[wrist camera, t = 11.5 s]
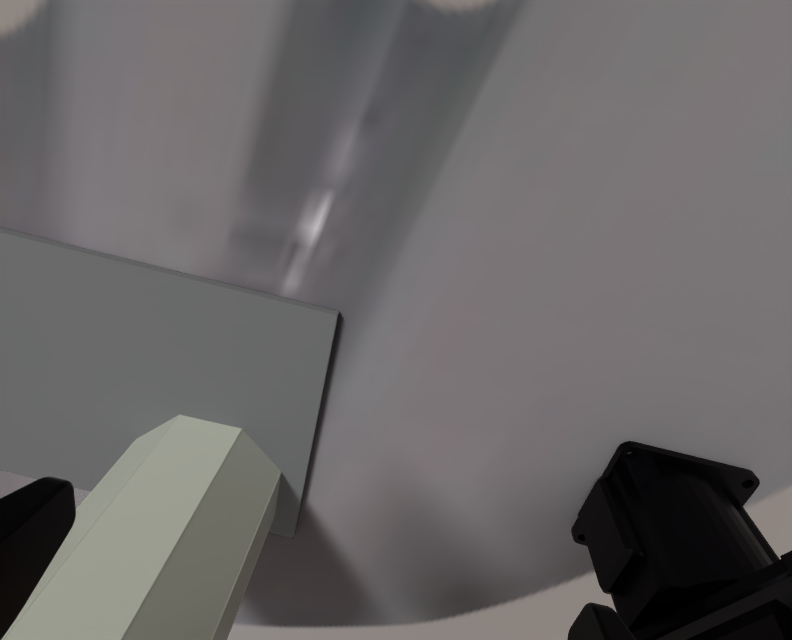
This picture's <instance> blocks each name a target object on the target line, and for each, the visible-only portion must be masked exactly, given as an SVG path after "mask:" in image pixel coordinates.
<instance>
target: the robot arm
mask: <svg viewBox="0 0 792 640" xmlns="http://www.w3.org/2000/svg"><path fill="white" fill-rule="evenodd" d="M631 451H632V452H633V453H631V454H627V453H628V452H631ZM759 484H760V482H759V479H758V478H757V477H756V475H755V474H754V473H753V472H752V471H750V470H748V469H744V468H739V467H735V466H731V465H727V464H723V463H719V462H715V461H711V460H707V459H703V458H698V457H694V456H690V455H686V454H682V453H678V452H674V451H670V450H666V449H662V448H657V447H653V446H649V445H645V444H641V443H637V442H632V441H628V442H624V443H622V444H621V445H620V446H619V447H618V448H617V450H616V452H615V454H614V455H613V457H612V459H611V461H610V462H609V464H608V466H607V468H606V469H605V471H604V473H603V475H602V476H601V478H599V479H598V480H597V482H596V483H595V485H594V487H593V489H592V490H591V492H590V494H589V496H588V498H587V499H586V501H585V503H584V505H583V506H582V508H581V510H580V512H579V513H578V519H577V520H576V522H575V524H574V526H573V527H572V530H571V532H572V536H573V539H574V541H575V542H576V543H579V544H582V545H586V546H588V549H589V553H590V556H591V559H592V562H593V566H594V569H595V572H596V575H597V579H598V582H599V585H600V587H601V589H602V590H603V592H604V593H607V594H611V596H612V599H613V602H614V605H615V608H616V611H617V613H616V612H615V611H614V610H613V609H612V608H610V607H608V606H604V605H599V604H595V603H588V604H586V605H585V606H584V608H583V609H582V611H581V612H580V614H579V615H578V617H577V618H576V620H575V621H574V623H573V625H572V626H571V628H570V630H569V633H568V640H792V551H790V552H788V553H786V554H784V555H782V556H781V560H780V559H779V558H778V556H777V555H776V554H775V552H774V551H773V549H772V548H771V546H770V545H769V544H768V542H767V541H766V539H765V538H764V537H763V535H762V534H761V532H760V531H759V529H758V528H757V526H756V525H755V524H754V522H753V521H752V520H751V518H750V517H749V515H748V514H747V512H746V511H745V509H744V508H743V505H744V504H745V503H746V502H747V500H748V499H749V498H750V496H751V495H752V494H753V493H754V491H755V490H756V489H757V487H758V486H759ZM75 518H76V508H75V497H74V487H73V484H72V483H71V482H70V481H68V480H64V479H60V478H55V477H43V478H40V479H38V480H36V481H34V482H32V483H30V484H28V485H26V486H24V487H22V488H20V489H18V490H16V491H14V492H13V493H11V494H9V495H7V496H5V497H3V498H1V499H0V640H1V639H2V638H3V636H4V635H5V634H6V632H7V631H8V629H9V628H10V627H11V625H12V624H13V622H14V621H15V620H16V618H17V616H18V615H19V613H20V612H21V610H22V609H23V607H24V606H25V604H26V602H27V601H28V599H29V597H30V596H31V594H32V592H33V591H34V589H35V588H36V586H37V584H38V583H39V581H40V579H41V578H42V576H43V574H44V573H45V571H46V570H47V568H48V566H49V565H50V563H51V561H52V560H53V558H54V556H55V555H56V553H57V551H58V550H59V548H60V547H61V545H62V543H63V542H64V540H65V538H66V537H67V535H68V533H69V532H70V530H71V528H72V526H73V524H74V521H75Z"/></svg>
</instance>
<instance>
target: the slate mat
mask: <svg viewBox="0 0 792 640" xmlns="http://www.w3.org/2000/svg"><path fill="white" fill-rule="evenodd" d="M338 315H339V311H335V310H331V309H327V308H323V307H319V306H315V305H311V304H307V303H303V302H299V301H295V300H291V299H287V298H283V297H279V296H275V295H270V294H266V293H262V292H258V291H254V290H250V289H246V288H242V287H238V286H234V285H230V284H226V283H222V282H218V281H214V280H210V279H206V278H202V277H198V276H193V275H189V274H185V273H181V272H177V271H173V270H169V269H165V268H161V267H157V266H153V265H149V264H145V263H141V262H137V261H133V260H129V259H125V258H121V257H116V256H112V255H108V254H104V253H100V252H96V251H92V250H88V249H84V248H80V247H76V246H72V245H68V244H64V243H60V242H56V241H52V240H48V239H44V238H40V237H35V236H31V235H27V234H23V233H19V232H15V231H11V230H7V229H3V228H0V470H2V471H6V472H11V473H15V474H19V475H23V476H28V477H32V478H36V479H40V478H43V477H55V478H60V479H64V480H68V481H70V482H71V483H72V484H73V487H75V488H79V489H83V490H87V491H92V490H93V489H94V488H95V487H96V486H97V484H98V483H99V482H100V481H101V480H102V479H103V477H104V476H105V475H106V474H107V473H108V471H109V470H110V469H111V468H112V467H113V466H114V464H115V463H116V462H117V461H118V460H119V459H120V457H121V456H122V455H123V454H124V453H125V452H126V450H127V449H128V448H129V447H130V446H131V444H132V443H133V442H134V441H135V440H136V439H137V438H139V437H141V436H143V435H144V434H146V433H148V432H150V431H151V430H153V429H155V428H157V427H158V426H160V425H162V424H164V423H165V422H167V421H169V420H171V419H173V418H174V417H176V416H178V415H183V416H188V417H192V418H197V419H201V420H206V421H210V422H215V423H219V424H223V425H228V426H232V427H237V428H242V429H243V430H244V432H245V433H246V434H247V435H248V436H249V437H250V438H251V439H252V440H253V441H254V442H255V443H256V445H257V446H258V447H259V448H260V449H261V450H262V451H263V452H264V453H265V454H266V455H267V457H268V458H269V459H270V460H271V461H272V462H273V463H274V464H275V465H276V466H277V467H278V468H279V470H280V471H281V476H280V483H279V490H278V497H277V505H276V512H275V516H274V519H273V521H272V524H271V526H270V529H269V532H268V533H271V534H275V535H279V536H284V537H288V538H292V539H293V538H294V535H295V531H296V526H297V521H298V516H299V511H300V506H301V501H302V496H303V491H304V486H305V481H306V476H307V471H308V466H309V461H310V456H311V451H312V446H313V441H314V436H315V431H316V426H317V421H318V416H319V411H320V406H321V401H322V396H323V391H324V386H325V381H326V376H327V371H328V366H329V361H330V356H331V351H332V345H333V340H334V335H335V330H336V325H337V320H338Z"/></svg>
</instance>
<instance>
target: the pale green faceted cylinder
mask: <svg viewBox="0 0 792 640" xmlns="http://www.w3.org/2000/svg"><path fill="white" fill-rule="evenodd" d="M280 476H281V471H280V470H279V468H278V467H277V466H276V465H275V464H274V463H273V462H272V461H271V460H270V459H269V458H268V457H267V455H266V454H265V453H264V452H263V451H262V450H261V449H260V448H259V447H258V446H257V445H256V443H255V442H254V441H253V440H252V439H251V438H250V437H249V436H248V435H247V434H246V433H245V432H244V430H243V429H242V428H237V427H232V426H228V425H223V424H219V423H215V422H210V421H206V420H201V419H197V418H192V417H188V416H183V415H178V416H176V417H174V418H173V419H171V420H169V421H167V422H165V423H164V424H162V425H160V426H158V427H157V428H155V429H153V430H151V431H150V432H148V433H146V434H144V435H143V436H141V437H139V438H137V439H136V440H135V441H134V442H133V443H132V444H131V446H130V447H129V448H128V449H127V450H126V452H125V453H124V454H123V455H122V456H121V457H120V459H119V460H118V461H117V462H116V463H115V464H114V466H113V467H112V468H111V469H110V470H109V471H108V473H107V474H106V475H105V476H104V477H103V479H102V480H101V481H100V482H99V483H98V484H97V486H96V487H95V488H94V489H93V490H92V491H91V493H90V494H89V495H88V496H87V497H86V499H85V500H84V501H83V502H82V503H81V504H80V506H79V507H78V508H77V509H76V518H75V521H74V524H73V526H72V528H71V530H70V532H69V533H68V535H67V537H66V538H65V540H64V542H63V543H62V545H61V547H60V548H59V550H58V551H57V553H56V555H55V556H54V558H53V560H52V561H51V563H50V565H49V566H48V568H47V570H46V571H45V573H44V574H43V576H42V578H41V579H40V581H39V583H38V584H37V586H36V588H35V589H34V591H33V592H32V594H31V596H30V597H29V599H28V601H27V602H26V604H25V606H24V607H23V609H22V610H21V612H20V613H19V615H18V616H17V618H16V620H15V621H14V622H13V624H12V625H11V627H10V628H9V629H8V631H7V632H6V634H5V635H4V636H3V638H2V639H1V640H227V638H228V635H229V633H230V630H231V628H232V625H233V623H234V620H235V617H236V615H237V612H238V610H239V607H240V604H241V602H242V599H243V597H244V594H245V591H246V589H247V586H248V584H249V581H250V578H251V576H252V573H253V571H254V568H255V565H256V563H257V560H258V558H259V555H260V552H261V550H262V547H263V545H264V542H265V539H266V537H267V534H268V532H269V529H270V526H271V524H272V521H273V519H274V516H275V512H276V505H277V497H278V490H279V483H280Z"/></svg>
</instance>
